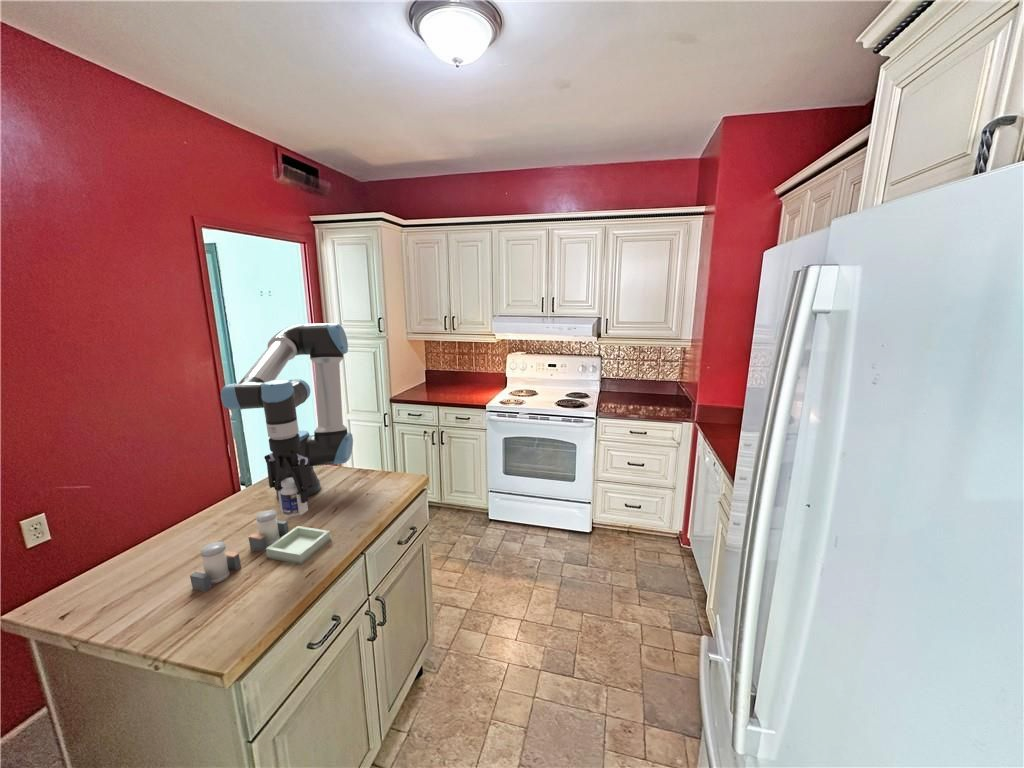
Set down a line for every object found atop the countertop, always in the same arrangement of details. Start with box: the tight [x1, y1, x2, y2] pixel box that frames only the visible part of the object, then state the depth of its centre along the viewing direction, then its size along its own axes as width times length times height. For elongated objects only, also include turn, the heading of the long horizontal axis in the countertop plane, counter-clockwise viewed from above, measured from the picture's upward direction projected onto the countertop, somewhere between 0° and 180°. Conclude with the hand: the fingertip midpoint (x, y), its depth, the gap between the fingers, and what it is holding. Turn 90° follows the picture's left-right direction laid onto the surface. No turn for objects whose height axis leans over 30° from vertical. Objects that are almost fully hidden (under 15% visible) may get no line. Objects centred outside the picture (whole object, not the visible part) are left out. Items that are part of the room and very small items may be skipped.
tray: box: [265, 525, 332, 565], centre depth 119 cm, size 12×12×3 cm
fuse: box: [255, 509, 281, 547], centre depth 122 cm, size 5×5×9 cm
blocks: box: [189, 519, 290, 593], centre depth 114 cm, size 27×4×4 cm, turn 165°
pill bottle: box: [280, 477, 299, 517], centre depth 115 cm, size 6×6×10 cm
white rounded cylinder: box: [200, 541, 231, 585], centre depth 106 cm, size 5×5×9 cm
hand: (294, 510), depth 116 cm, fingers closed on pill bottle, 6 cm apart
